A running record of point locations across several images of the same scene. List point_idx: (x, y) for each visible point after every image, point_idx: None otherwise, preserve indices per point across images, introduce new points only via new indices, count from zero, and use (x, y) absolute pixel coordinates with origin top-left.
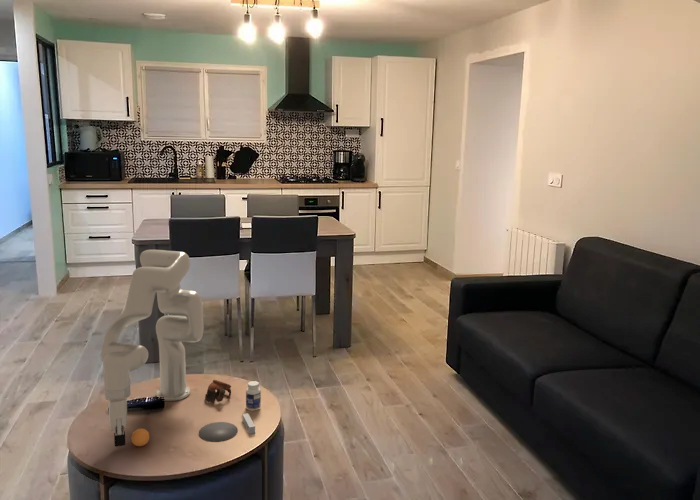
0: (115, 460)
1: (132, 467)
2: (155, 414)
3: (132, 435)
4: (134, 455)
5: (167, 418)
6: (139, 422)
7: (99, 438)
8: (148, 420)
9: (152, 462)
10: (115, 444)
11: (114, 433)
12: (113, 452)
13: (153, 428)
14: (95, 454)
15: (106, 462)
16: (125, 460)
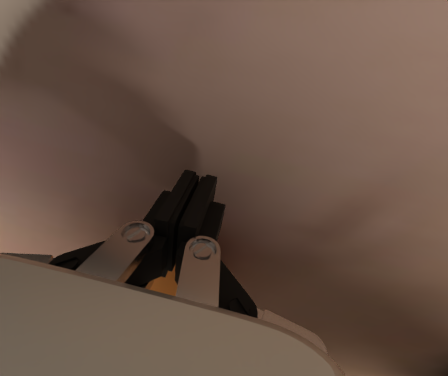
0: (89, 133)
1: (19, 182)
2: (431, 365)
3: (171, 283)
4: (116, 214)
5: (355, 370)
6: (418, 314)
7: (427, 105)
8: (401, 337)
9: (51, 245)
10: (182, 179)
11: (184, 228)
12: (177, 144)
13: (311, 324)
14: (198, 30)
15: (77, 83)
16: (81, 173)
